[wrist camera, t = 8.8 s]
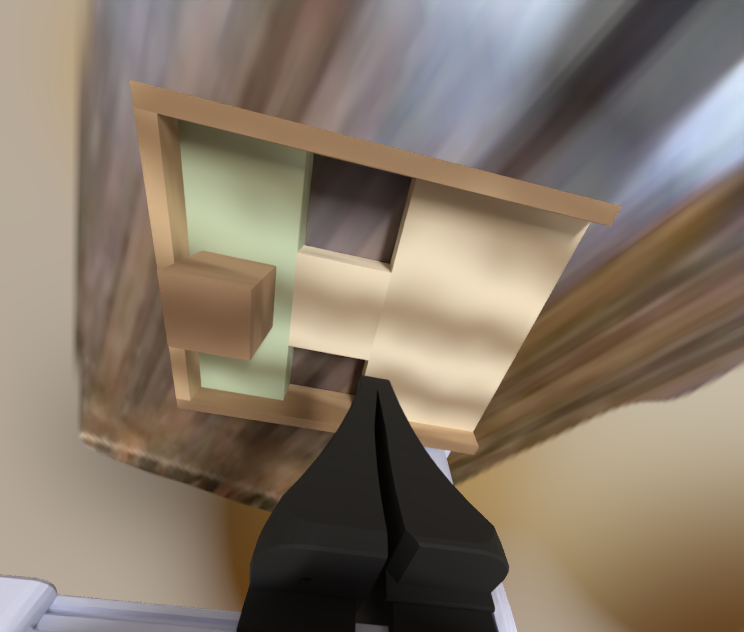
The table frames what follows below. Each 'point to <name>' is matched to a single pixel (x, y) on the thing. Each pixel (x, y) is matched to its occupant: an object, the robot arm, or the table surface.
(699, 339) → the table surface
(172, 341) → the walnut block
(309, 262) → the board
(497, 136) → the table surface
